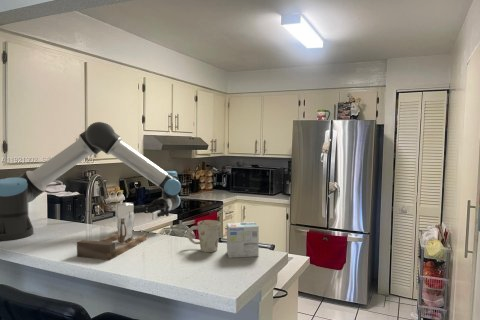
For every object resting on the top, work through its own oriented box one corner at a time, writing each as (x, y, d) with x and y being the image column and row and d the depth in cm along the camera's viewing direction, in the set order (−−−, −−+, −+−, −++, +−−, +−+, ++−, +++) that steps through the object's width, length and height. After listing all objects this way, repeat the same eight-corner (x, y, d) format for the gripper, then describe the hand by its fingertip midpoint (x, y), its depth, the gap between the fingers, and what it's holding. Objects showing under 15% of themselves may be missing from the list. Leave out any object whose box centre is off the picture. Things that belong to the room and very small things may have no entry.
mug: (216, 254, 125) (217, 226, 124) (183, 251, 127) (183, 224, 127) (222, 247, 133) (222, 220, 132) (190, 244, 136) (190, 219, 135)
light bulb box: (255, 250, 129) (255, 221, 128) (259, 256, 122) (259, 226, 122) (226, 252, 127) (226, 222, 127) (228, 258, 121) (228, 227, 120)
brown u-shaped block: (117, 237, 145) (117, 225, 145) (146, 239, 142) (146, 227, 141) (77, 256, 122) (76, 242, 121) (110, 259, 119) (110, 245, 118)
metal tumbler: (133, 244, 136) (133, 205, 135) (114, 244, 135) (113, 205, 134) (135, 239, 143) (135, 202, 142) (117, 239, 142) (117, 202, 141)
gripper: (185, 215, 165) (165, 226, 145) (137, 212, 171) (111, 222, 151) (185, 199, 165) (165, 208, 144) (137, 197, 171) (111, 205, 150)
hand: (137, 215), depth 147 cm, fingers open, 13 cm apart
